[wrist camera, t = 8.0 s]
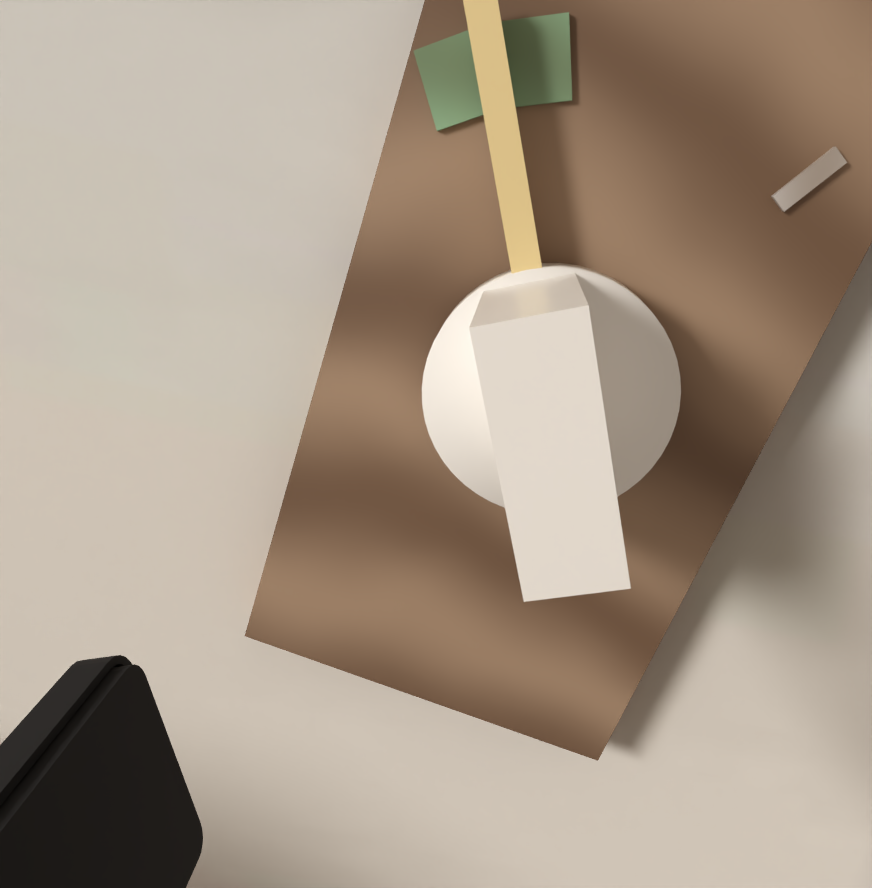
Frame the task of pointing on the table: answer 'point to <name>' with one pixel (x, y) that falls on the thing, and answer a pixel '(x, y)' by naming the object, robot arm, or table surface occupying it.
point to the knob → (547, 378)
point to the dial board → (609, 252)
